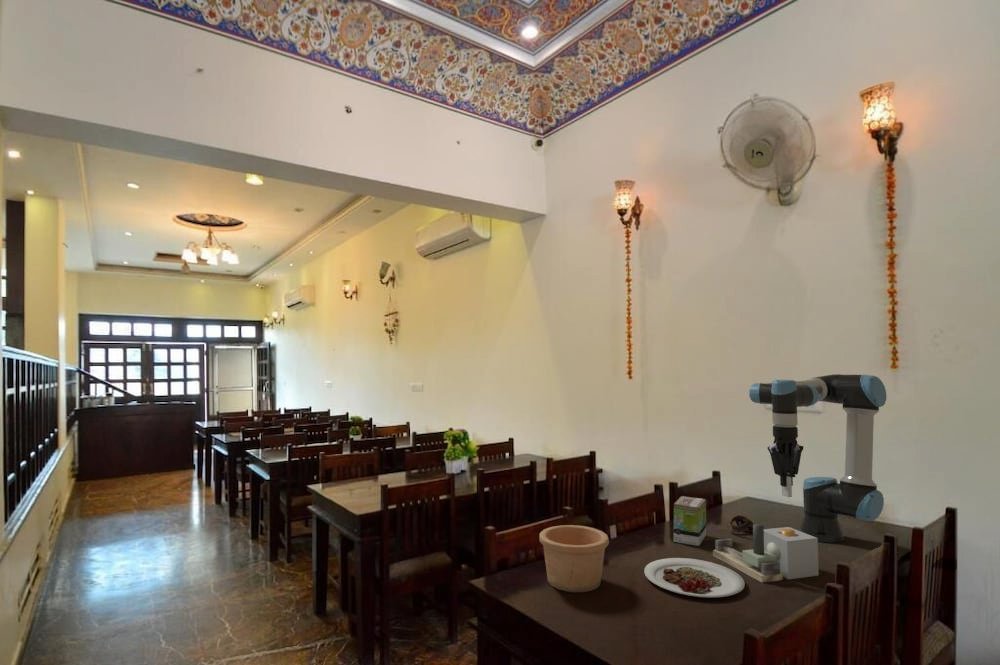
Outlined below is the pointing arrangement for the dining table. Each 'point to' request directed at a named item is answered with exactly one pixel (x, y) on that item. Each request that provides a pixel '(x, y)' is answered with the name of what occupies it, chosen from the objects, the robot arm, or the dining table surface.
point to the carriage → (758, 548)
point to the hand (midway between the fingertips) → (786, 496)
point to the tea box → (689, 520)
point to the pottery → (574, 557)
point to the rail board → (735, 559)
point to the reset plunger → (788, 532)
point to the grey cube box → (793, 552)
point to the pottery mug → (741, 524)
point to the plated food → (694, 577)
